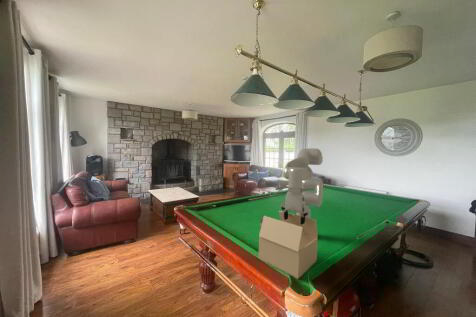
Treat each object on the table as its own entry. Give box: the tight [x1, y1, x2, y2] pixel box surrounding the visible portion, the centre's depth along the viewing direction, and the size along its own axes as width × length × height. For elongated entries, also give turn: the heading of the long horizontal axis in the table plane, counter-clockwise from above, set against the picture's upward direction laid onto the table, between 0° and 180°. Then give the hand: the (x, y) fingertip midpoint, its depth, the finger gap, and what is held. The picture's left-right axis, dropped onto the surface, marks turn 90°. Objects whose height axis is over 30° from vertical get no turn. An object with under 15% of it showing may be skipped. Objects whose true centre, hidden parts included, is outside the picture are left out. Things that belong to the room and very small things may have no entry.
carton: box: [257, 233, 319, 280], centre depth 96 cm, size 22×22×12 cm
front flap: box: [258, 215, 303, 252], centre depth 90 cm, size 11×22×1 cm
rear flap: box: [278, 210, 319, 238], centre depth 103 cm, size 11×22×1 cm
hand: (293, 221), depth 100 cm, fingers open, 9 cm apart
